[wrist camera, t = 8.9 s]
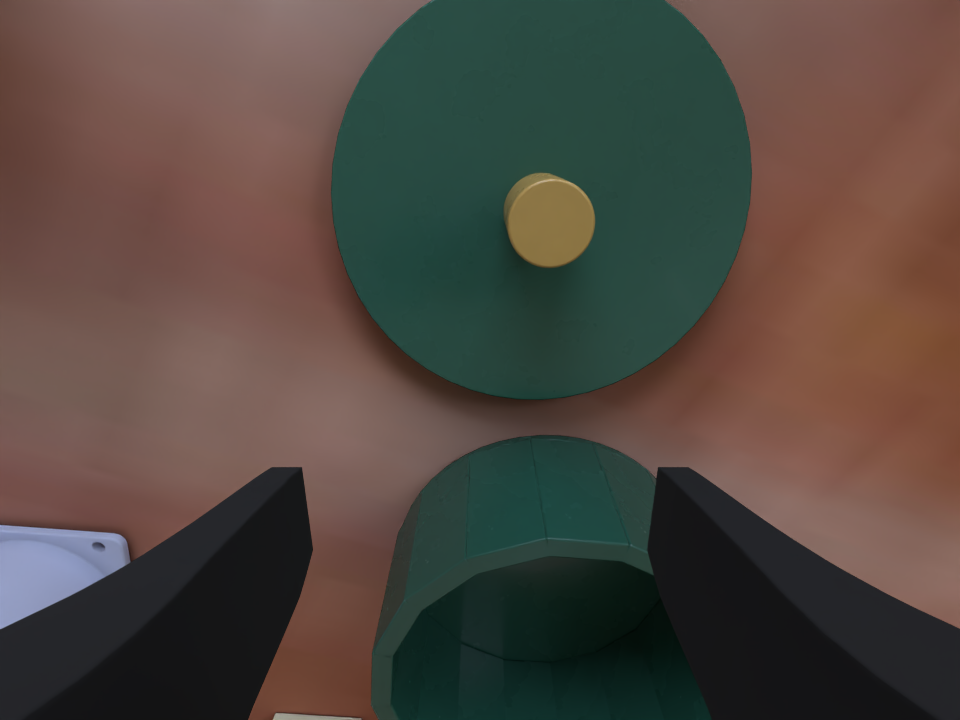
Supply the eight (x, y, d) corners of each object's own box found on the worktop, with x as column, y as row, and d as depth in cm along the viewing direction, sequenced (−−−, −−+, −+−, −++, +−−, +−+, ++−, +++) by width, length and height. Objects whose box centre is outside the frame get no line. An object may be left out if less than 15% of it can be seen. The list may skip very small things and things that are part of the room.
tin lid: (340, 373, 21) (307, 426, 17) (337, -49, 16) (290, -111, 12) (688, 401, 22) (734, 459, 18) (787, -4, 17) (883, -49, 13)
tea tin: (394, 654, 27) (368, 802, 21) (403, 422, 22) (374, 525, 16) (652, 672, 27) (701, 821, 21) (714, 447, 22) (798, 556, 17)
